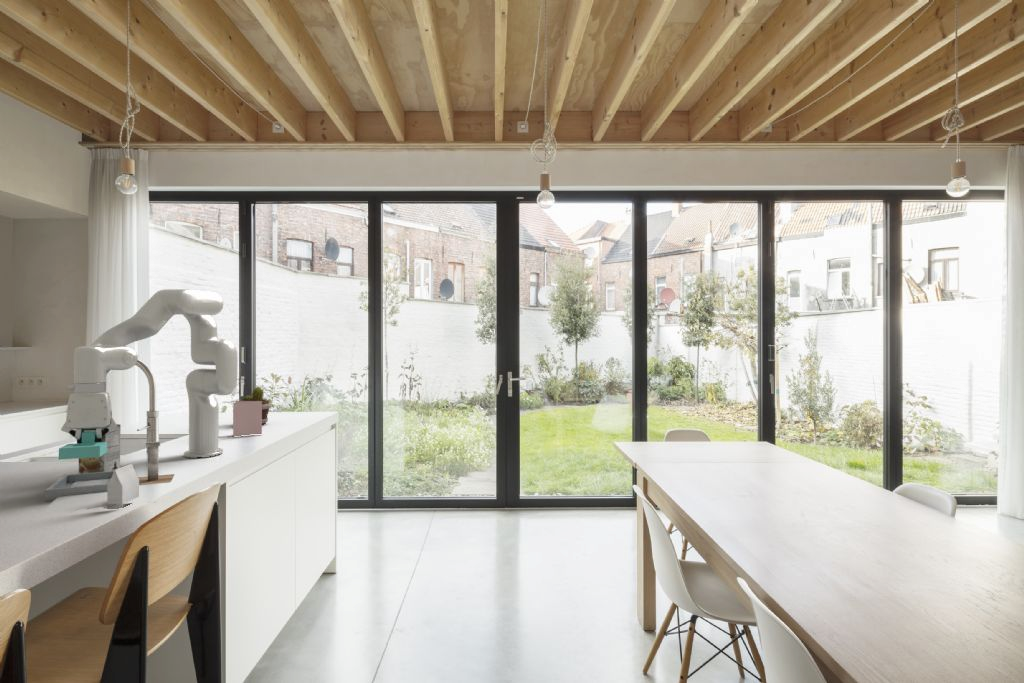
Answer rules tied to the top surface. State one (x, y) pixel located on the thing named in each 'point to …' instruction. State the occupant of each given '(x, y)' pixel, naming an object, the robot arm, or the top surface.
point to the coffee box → (107, 460)
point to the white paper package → (122, 487)
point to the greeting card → (247, 418)
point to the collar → (84, 447)
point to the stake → (154, 467)
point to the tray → (66, 481)
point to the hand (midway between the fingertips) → (89, 451)
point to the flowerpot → (259, 396)
